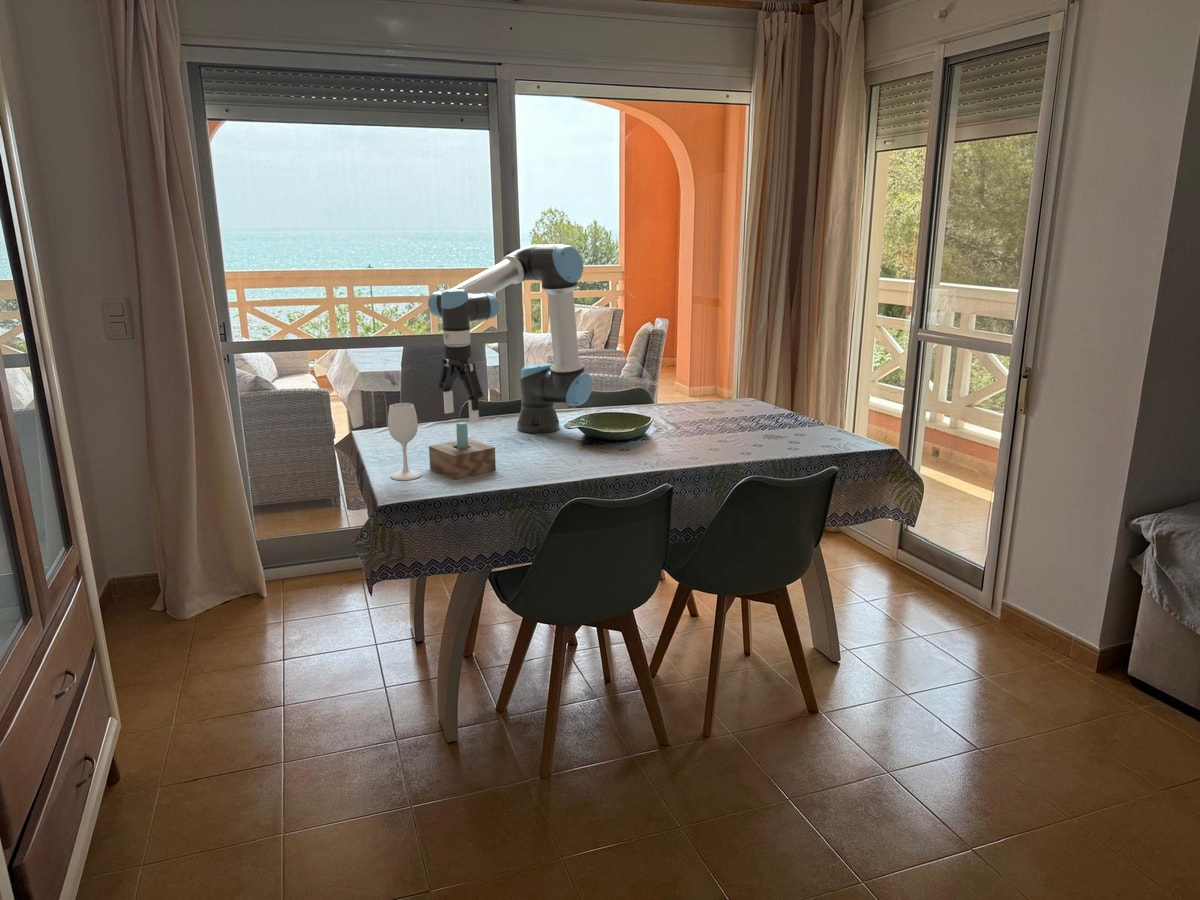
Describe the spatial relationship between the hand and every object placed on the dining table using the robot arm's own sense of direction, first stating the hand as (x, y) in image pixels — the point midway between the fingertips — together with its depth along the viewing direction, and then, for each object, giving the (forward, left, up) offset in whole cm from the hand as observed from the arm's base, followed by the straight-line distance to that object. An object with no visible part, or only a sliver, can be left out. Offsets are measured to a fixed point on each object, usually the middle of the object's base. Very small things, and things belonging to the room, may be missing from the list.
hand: (461, 416), depth 235 cm
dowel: (0, 0, -14) cm, 14 cm away
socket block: (0, 0, -16) cm, 16 cm away
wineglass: (+16, -5, -16) cm, 24 cm away
